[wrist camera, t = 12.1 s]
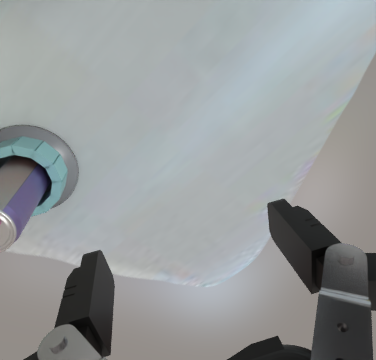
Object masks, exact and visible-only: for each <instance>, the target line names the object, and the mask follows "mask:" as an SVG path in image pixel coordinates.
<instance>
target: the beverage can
mask: <svg viewBox="0 0 376 360" xmlns="http://www.w3.org/2000/svg"><path fill="white" fill-rule="evenodd" d="M50 182H51V178H50V176H49V174H48V172H47V170H46V168H44V167H43V166H41V165H40V164H39V163H37V162H36V161H35V160H33V159H32V158H28V157H23V156H18V155H15V156H13V157H11V158H10V159H9V160H8V161H7V162H6V163H5V164H4V165H3V166H2V167H1V168H0V252H3V251H5V250H6V249H8V248H9V247H10V246H11V245H12V244H13V243H14V242H15V241H16V240H17V239H18V238H19V236H20V234H21V233H22V231H23V229H24V227H25V226H26V224H27V222H28V221H29V219H30V217H31V215H32V214H33V212H34V210H35V208H36V207H37V205H38V203H39V201H40V200H41V198H42V196H43V194H44V193H45V191H46V189H47V187H48V186H49V184H50Z"/></svg>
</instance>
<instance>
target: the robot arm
mask: <svg viewBox="0 0 376 360" xmlns="http://www.w3.org/2000/svg"><path fill="white" fill-rule="evenodd" d="M267 207H268V219H269V229H270V233H271V236H272V238H273V240H274V242H275V243H276V245H277V246H278V248H279V249H280V250H281V252H282V253H283V255H284V256H285V257H286V259H287V260H288V262H289V263H290V264H291V266H292V267H293V269H294V270H295V271H296V273H297V274H298V276H299V277H300V278H301V280H302V281H303V283H304V284H305V285H306V287H307V288H308V290H309V291H310V292H311V294H313V293H317V292H319V297H318V305H317V313H316V321H315V328H314V336H313V344H312V351H311V350H309V349H306V348H303V347H299V346H295V345H282V343H281V341H280V339H279V337H278V336H276V337H272V338H269V339H266V340H263V341H260V342H257V343H253V344H251V345H249V346H248V347H246V348H244V349H243V350H241V351H240V352H238V353H237V354H235V355H234V356H232V357H231V358H229V359H227V360H373V347H372V320H371V310H375V311H376V253H364V252H363V251H362V250H361V249H360V248H358V247H356V246H354V245H350V244H344V243H341V242H340V241H339V240H338V239H337V238H336V237H335V236H334V235H333V234H332V233H331V232H330V231H329V230H328V229H327V228H326V227H325V226H324V225H322V224H321V223H320V222H319V221H318V220H317V219H315V217H314V216H313V215H312V214H311V213H310V212H309V211H308V210H306V209H304V208H301V207H299V206H295V207H292V206H291V205H290V204H289V203H288V202H287V201H286V200H285V199H281V200H277V201H273V202H270V203H268V206H267ZM114 288H115V286H114V279H113V275H112V273H111V270H110V268H109V266H108V264H107V262H106V259H105V257H104V255H103V253H102V251H101V250H98V251H94V252H91V253H87V254H84V255H83V257H82V261H81V266H80V267H79V268H75V269H74V270H73V271H72V273H71V274H70V275H69V277H68V278H67V282H66V286H65V290H64V293H63V299H62V301H61V304H60V308H59V312H58V316H57V320H56V324H55V328H54V329H53V330H52V331H50V332H49V333H48V334H47V335H46V336H45V337H44V338H43V340H42V341H41V343H40V345H39V347H38V351H37V352H35V353H34V354H32V355H31V356H29V357H27V358H26V359H24V360H107V359H106V358H105V357H106V356H109V355H110V353H111V338H112V321H113V305H114Z"/></svg>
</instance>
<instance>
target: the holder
mask: <svg viewBox="0 0 376 360" xmlns="http://www.w3.org/2000/svg"><path fill="white" fill-rule="evenodd" d="M15 155H18V156H23V157H28V158H32V159H33V160H35V161H36V162H37V163H39V164H40V165H41V166H43V167H44V168H46V170H47V172H48V174H49V176H50V178H51V182H50V184H49V186H48V187H47V189H46V191H45V193H44V194H43V196H42V198H41V200H40V201H39V203H38V205H37V207H36V208H35V210H34V212H33V214H32V215H31V216H35V215H38V214H42V213H45V212H47V211H48V210H49V209H51V208H54V207H56V206H58V205H60V204H61V203H63V202H64V201H65V200H67V199H68V198H69V196H70V195H71V194H72V192H73V191H74V189H75V187H76V184H77V181H78V174H79V171H78V164H77V160H76V158H75V155H74V154H73V152H72V150H71V149H70V147H69V146H68V145H67V144H66V143H65V142H64V141H63V140H62V139H61V138H60V137H58V136H57V135H55V134H54V133H52V132H50V131H48V130H45V129H43V128H40V127H36V126H30V125H15V126H9V127H6V128H3V129H1V130H0V168H1V167H2V166H3V165H4V164H5V163H6V162H7V161H8V160H9V159H10V158H11V157H13V156H15Z"/></svg>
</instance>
